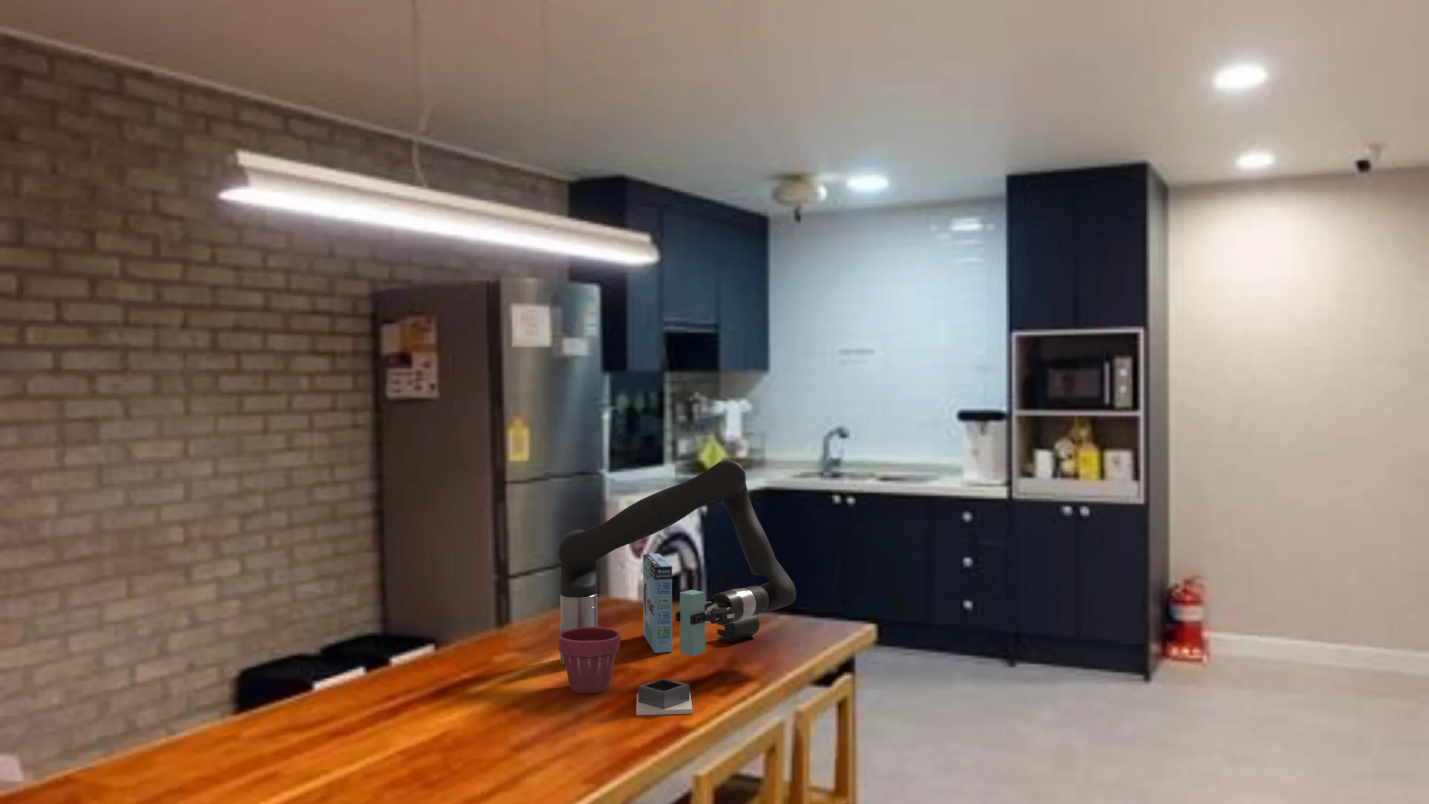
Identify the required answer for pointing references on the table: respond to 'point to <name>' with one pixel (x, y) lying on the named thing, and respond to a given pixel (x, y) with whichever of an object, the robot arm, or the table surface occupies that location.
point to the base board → (677, 709)
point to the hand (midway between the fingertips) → (684, 618)
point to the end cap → (739, 629)
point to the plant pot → (589, 657)
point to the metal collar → (663, 693)
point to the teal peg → (690, 634)
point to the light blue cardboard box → (657, 602)
